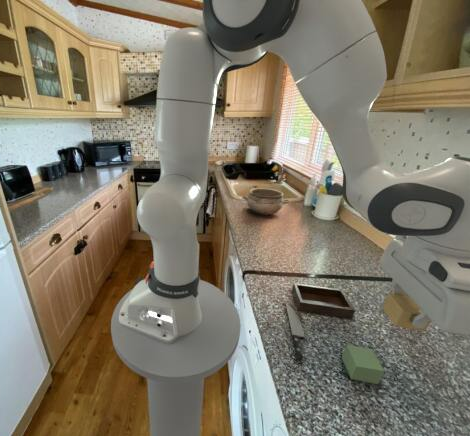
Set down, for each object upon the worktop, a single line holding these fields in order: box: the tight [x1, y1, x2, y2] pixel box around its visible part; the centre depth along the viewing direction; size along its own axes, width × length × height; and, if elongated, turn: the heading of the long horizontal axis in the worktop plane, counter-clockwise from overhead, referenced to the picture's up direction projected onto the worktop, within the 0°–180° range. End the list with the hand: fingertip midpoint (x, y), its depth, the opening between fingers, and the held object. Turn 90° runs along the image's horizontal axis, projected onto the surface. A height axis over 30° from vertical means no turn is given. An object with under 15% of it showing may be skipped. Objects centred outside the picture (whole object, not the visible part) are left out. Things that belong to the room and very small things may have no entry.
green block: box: [341, 344, 385, 385], centre depth 51 cm, size 5×5×4 cm
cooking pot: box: [241, 187, 291, 216], centre depth 134 cm, size 25×19×12 cm
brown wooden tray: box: [291, 282, 356, 320], centre depth 70 cm, size 14×9×3 cm, turn 78°
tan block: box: [381, 293, 432, 332], centre depth 48 cm, size 5×5×4 cm
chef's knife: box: [284, 301, 306, 361], centre depth 62 cm, size 19×1×3 cm
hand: (405, 312), depth 48 cm, fingers closed on tan block, 5 cm apart
